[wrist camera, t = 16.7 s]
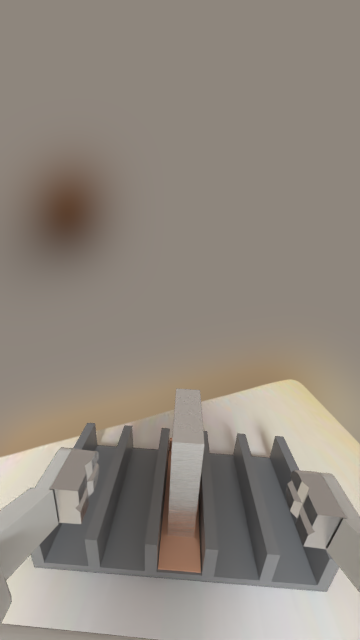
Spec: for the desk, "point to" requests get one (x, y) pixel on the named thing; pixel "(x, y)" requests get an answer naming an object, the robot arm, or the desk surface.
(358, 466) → the desk surface
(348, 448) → the desk surface
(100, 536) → the rack
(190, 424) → the panel
